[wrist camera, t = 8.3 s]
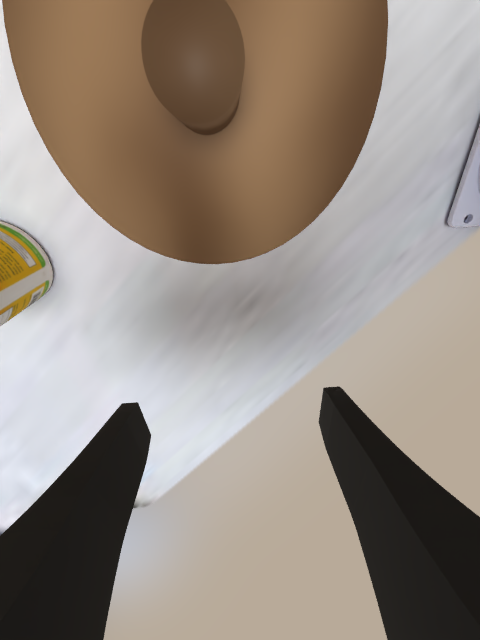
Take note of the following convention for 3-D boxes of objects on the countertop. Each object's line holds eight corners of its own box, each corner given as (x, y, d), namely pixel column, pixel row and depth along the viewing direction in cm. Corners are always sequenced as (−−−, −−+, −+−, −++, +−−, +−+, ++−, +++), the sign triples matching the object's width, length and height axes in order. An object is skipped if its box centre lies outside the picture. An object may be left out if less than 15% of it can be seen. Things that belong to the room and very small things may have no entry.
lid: (430, -231, 6) (649, -658, 3) (339, 254, 12) (378, 286, 9) (-74, -236, 6) (-433, -710, 3) (91, 262, 12) (42, 298, 9)
